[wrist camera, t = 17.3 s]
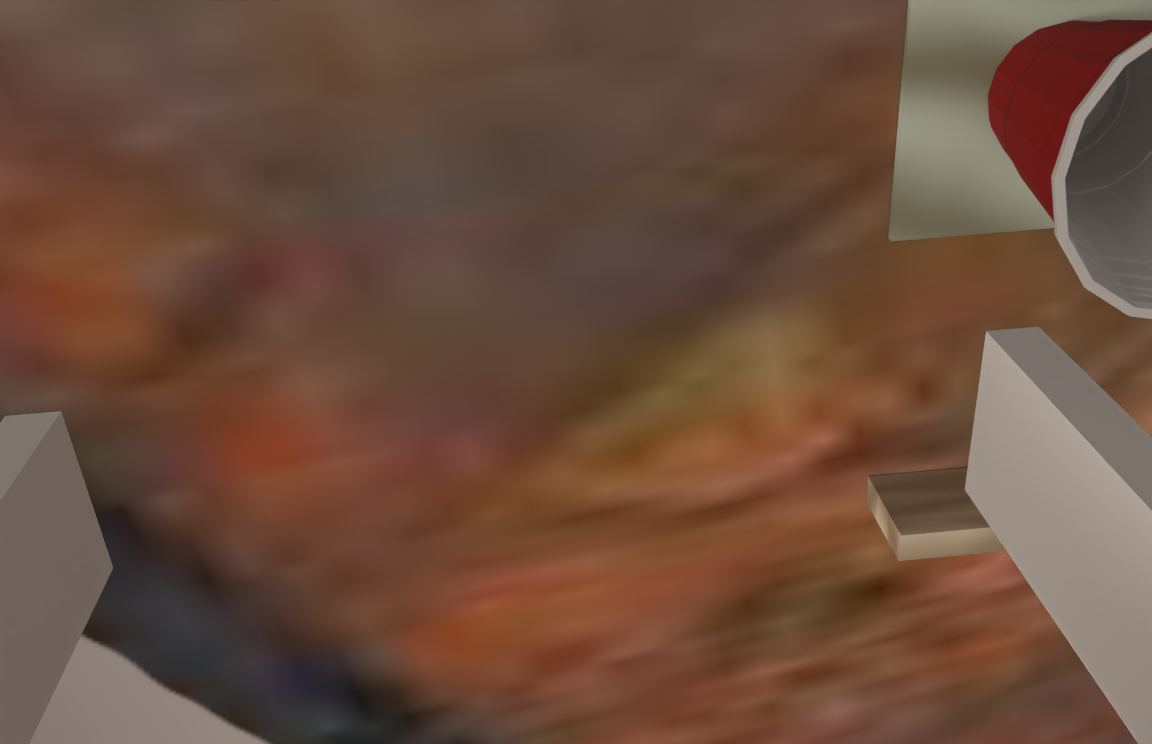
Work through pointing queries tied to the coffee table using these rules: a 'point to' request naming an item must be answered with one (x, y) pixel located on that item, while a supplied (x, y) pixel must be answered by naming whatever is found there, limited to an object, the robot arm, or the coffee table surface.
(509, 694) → the coffee table surface
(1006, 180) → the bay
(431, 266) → the coffee table surface
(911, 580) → the coffee table surface
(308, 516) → the coffee table surface
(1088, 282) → the plastic cup
